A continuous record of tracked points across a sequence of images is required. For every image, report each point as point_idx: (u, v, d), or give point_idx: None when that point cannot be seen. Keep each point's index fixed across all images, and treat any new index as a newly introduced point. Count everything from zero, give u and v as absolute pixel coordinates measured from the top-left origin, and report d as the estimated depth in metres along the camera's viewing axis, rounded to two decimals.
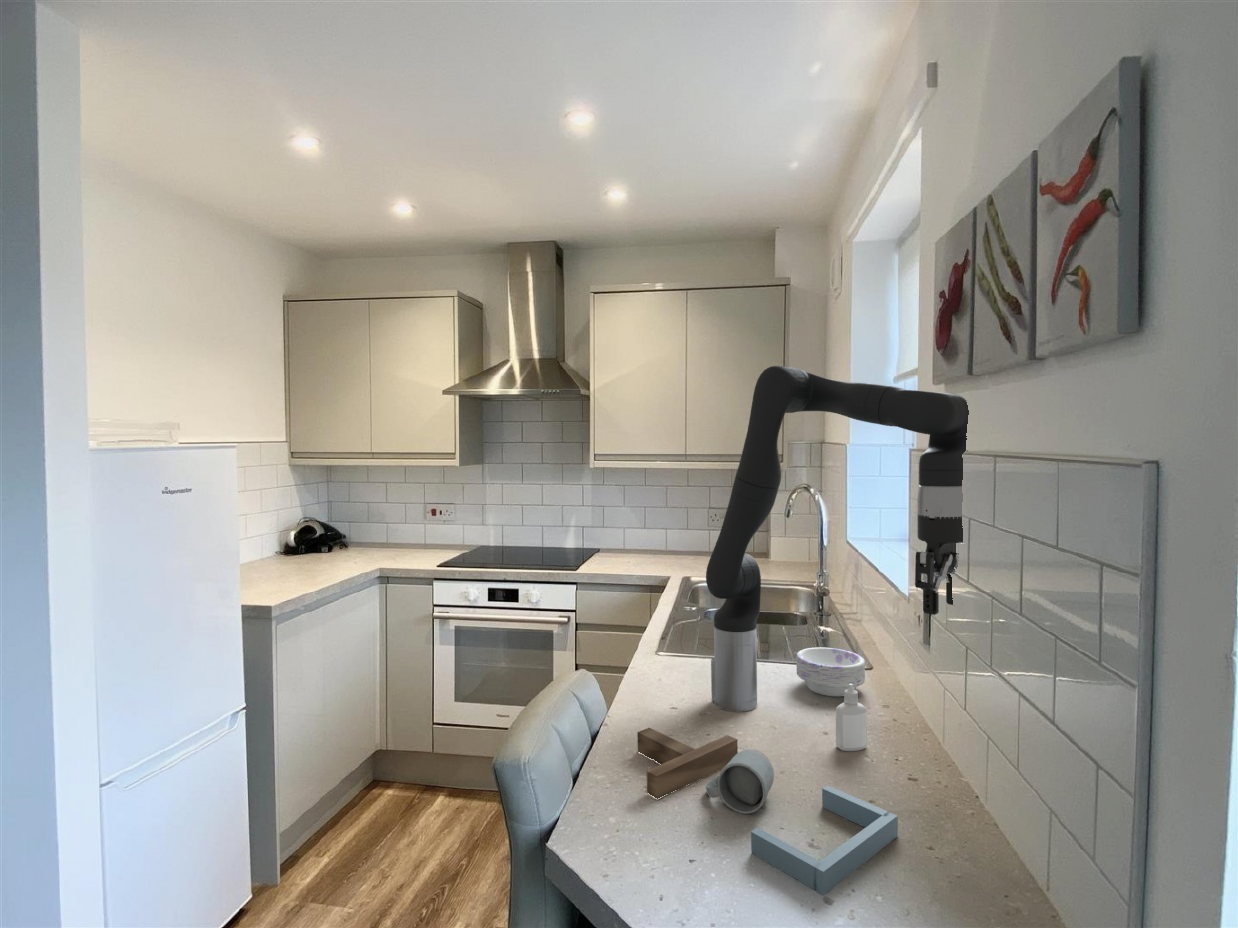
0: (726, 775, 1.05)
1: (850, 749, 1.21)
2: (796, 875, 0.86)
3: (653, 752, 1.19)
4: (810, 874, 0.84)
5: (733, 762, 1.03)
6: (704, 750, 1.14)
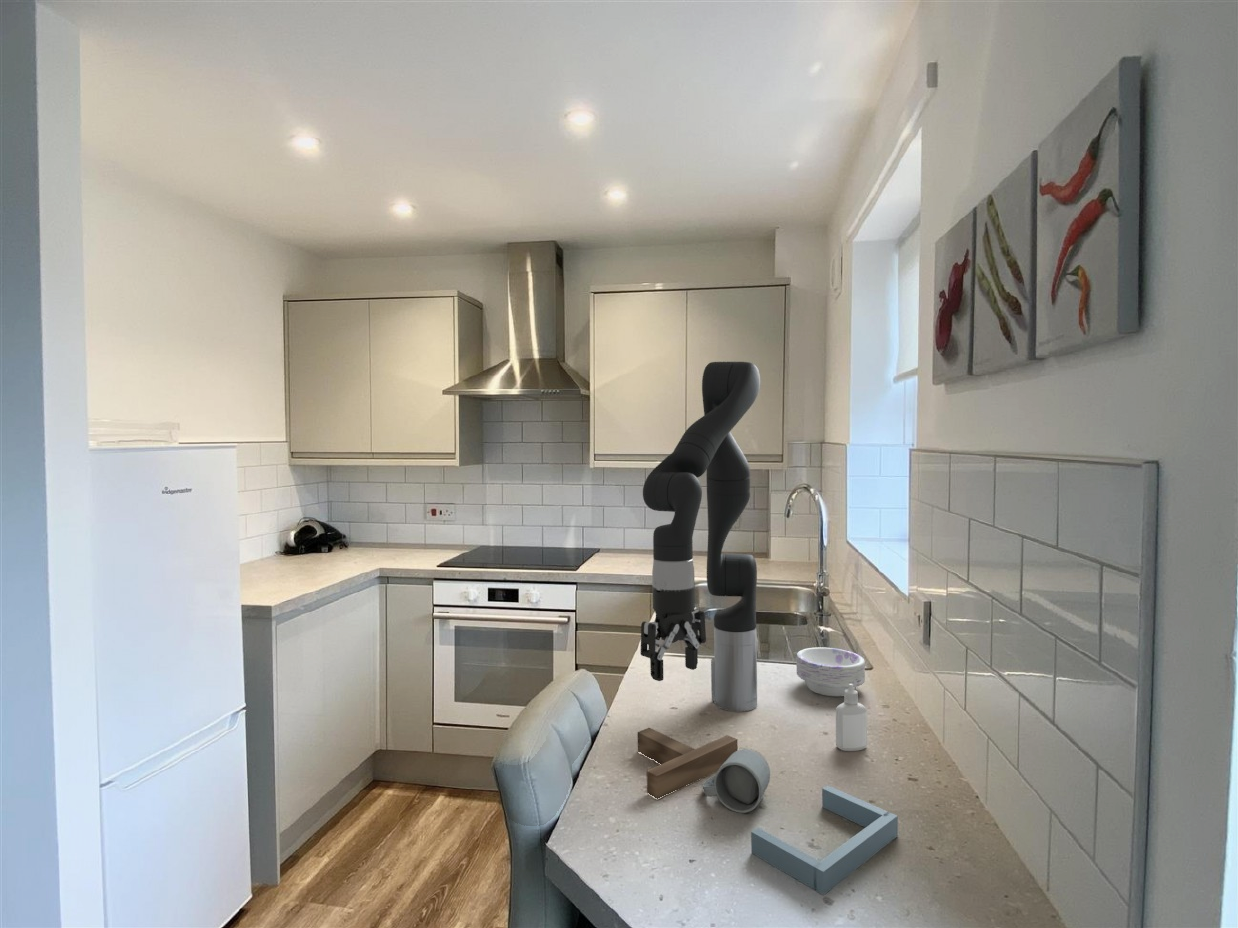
0: (722, 774, 1.06)
1: (850, 749, 1.21)
2: (796, 875, 0.86)
3: (653, 752, 1.19)
4: (810, 874, 0.84)
5: (729, 761, 1.03)
6: (704, 750, 1.14)
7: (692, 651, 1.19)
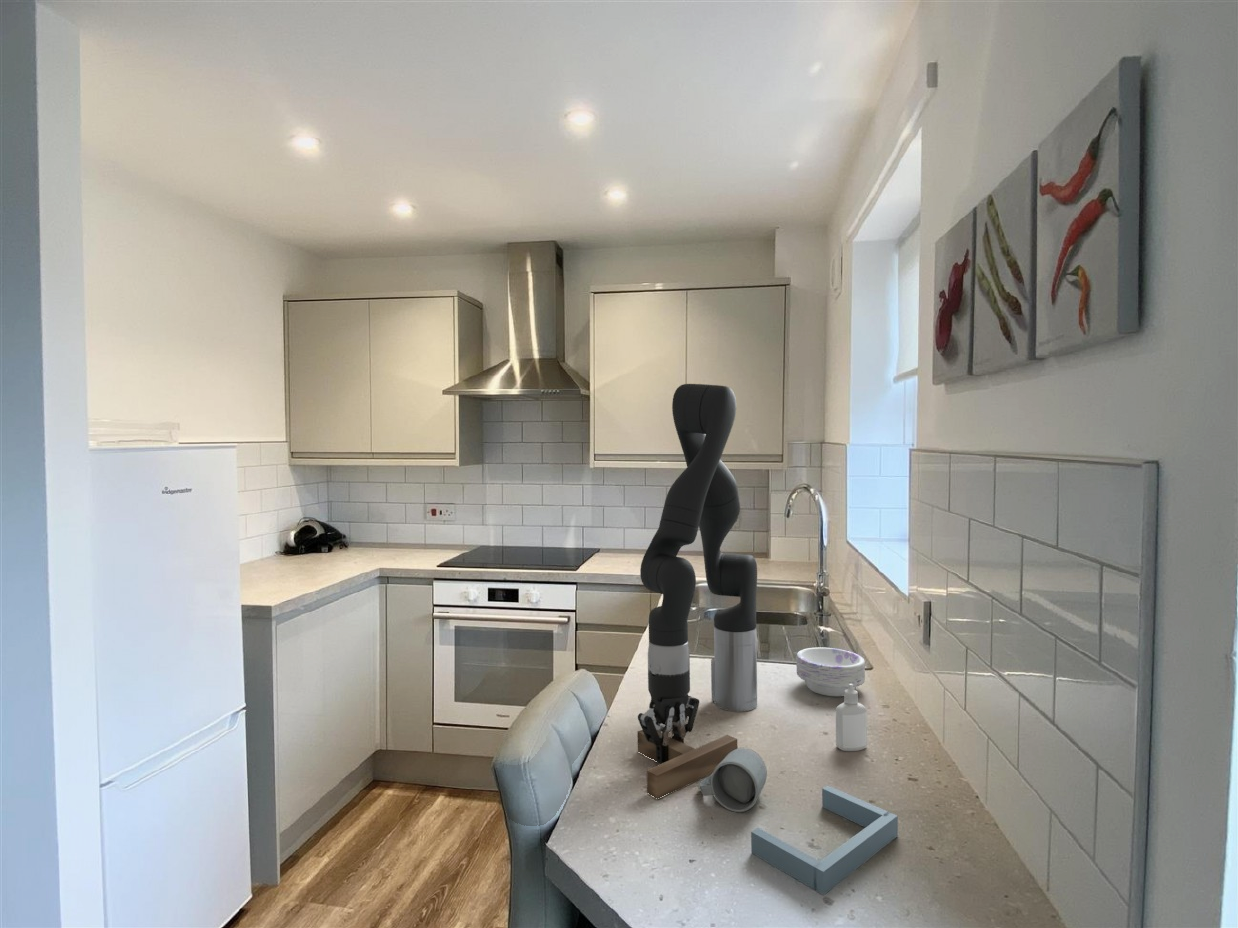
0: (719, 774, 1.06)
1: (850, 749, 1.21)
2: (796, 875, 0.86)
3: (653, 751, 1.19)
4: (810, 874, 0.84)
5: (726, 761, 1.03)
6: (704, 750, 1.14)
7: None
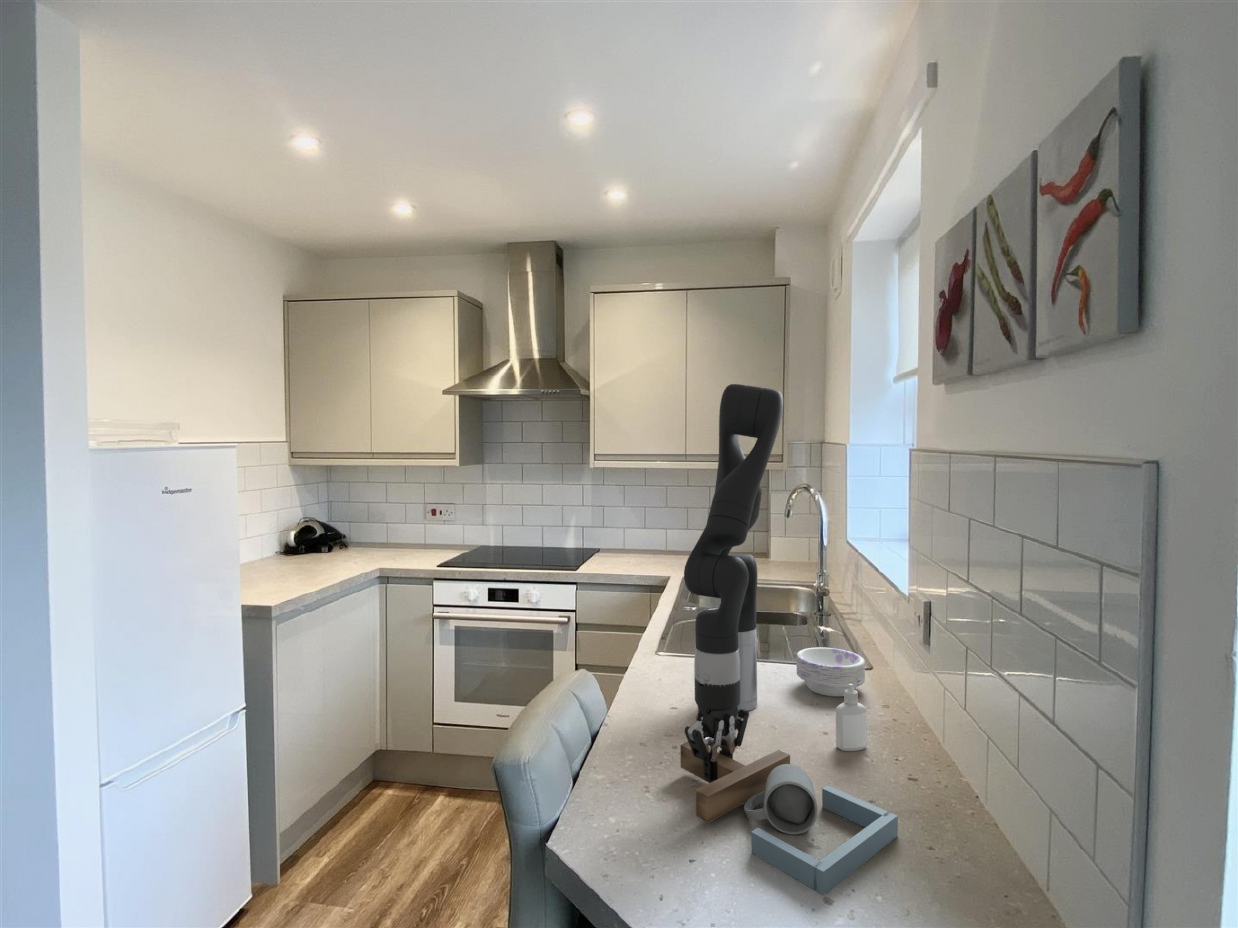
0: (768, 795, 0.99)
1: (850, 749, 1.21)
2: (796, 875, 0.86)
3: (699, 767, 1.10)
4: (810, 874, 0.84)
5: (780, 781, 0.97)
6: (756, 767, 1.05)
7: (727, 756, 1.09)
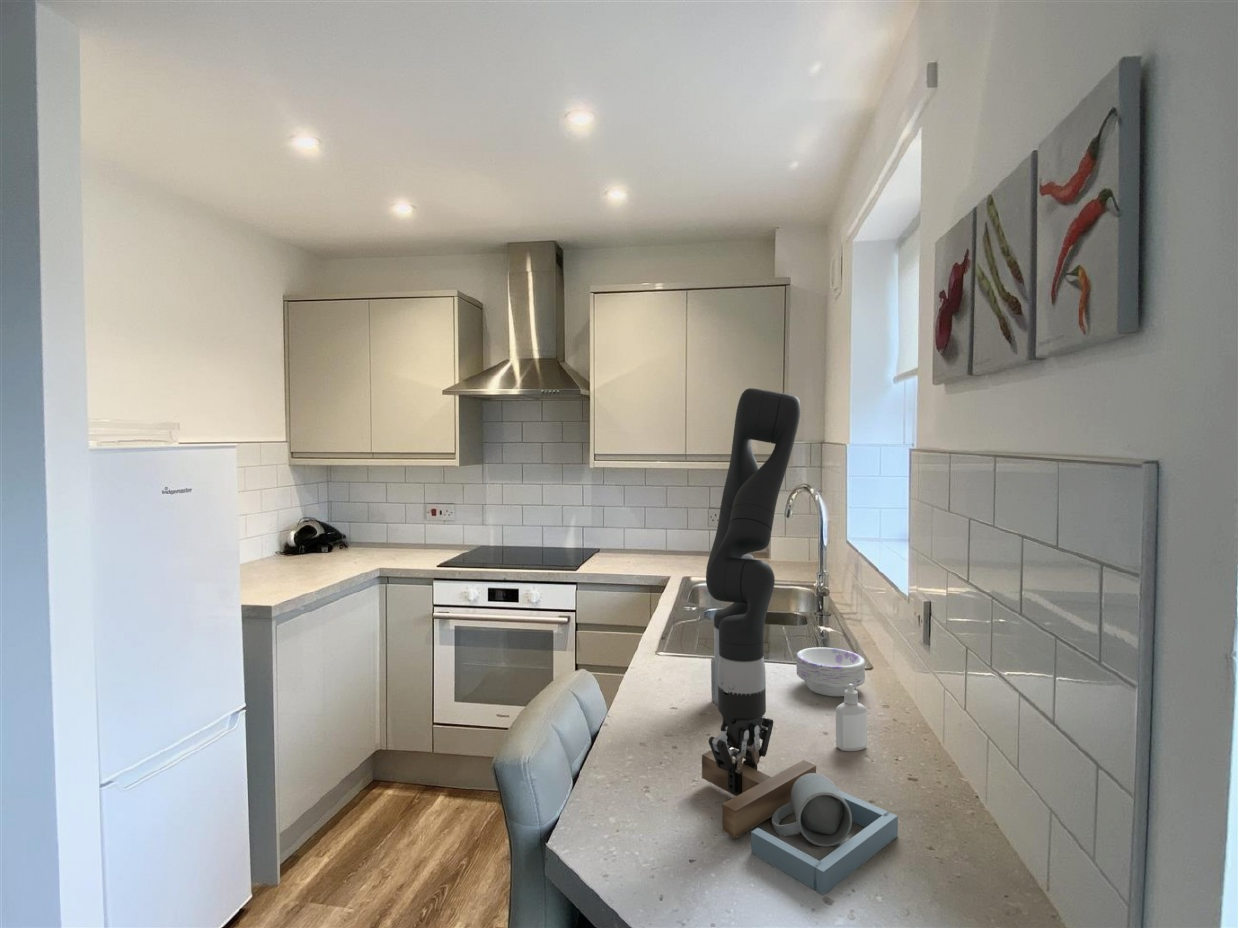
0: None
1: (850, 749, 1.21)
2: (796, 875, 0.86)
3: (722, 778, 1.06)
4: (810, 874, 0.84)
5: (813, 792, 0.94)
6: (782, 779, 1.02)
7: (751, 767, 1.05)
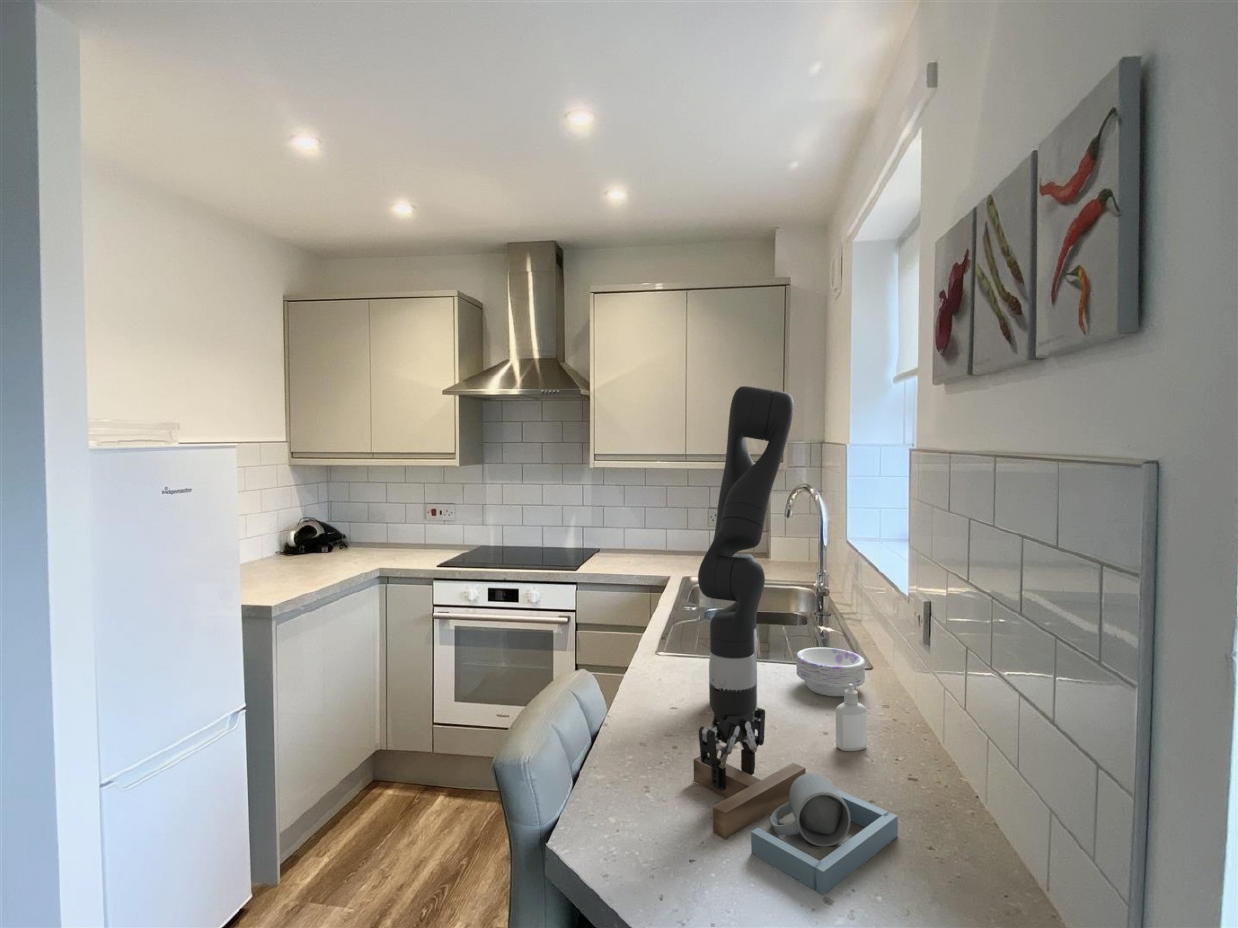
0: None
1: (850, 749, 1.21)
2: (796, 875, 0.86)
3: None
4: (810, 874, 0.84)
5: (812, 792, 0.94)
6: (772, 781, 1.03)
7: (749, 755, 1.08)
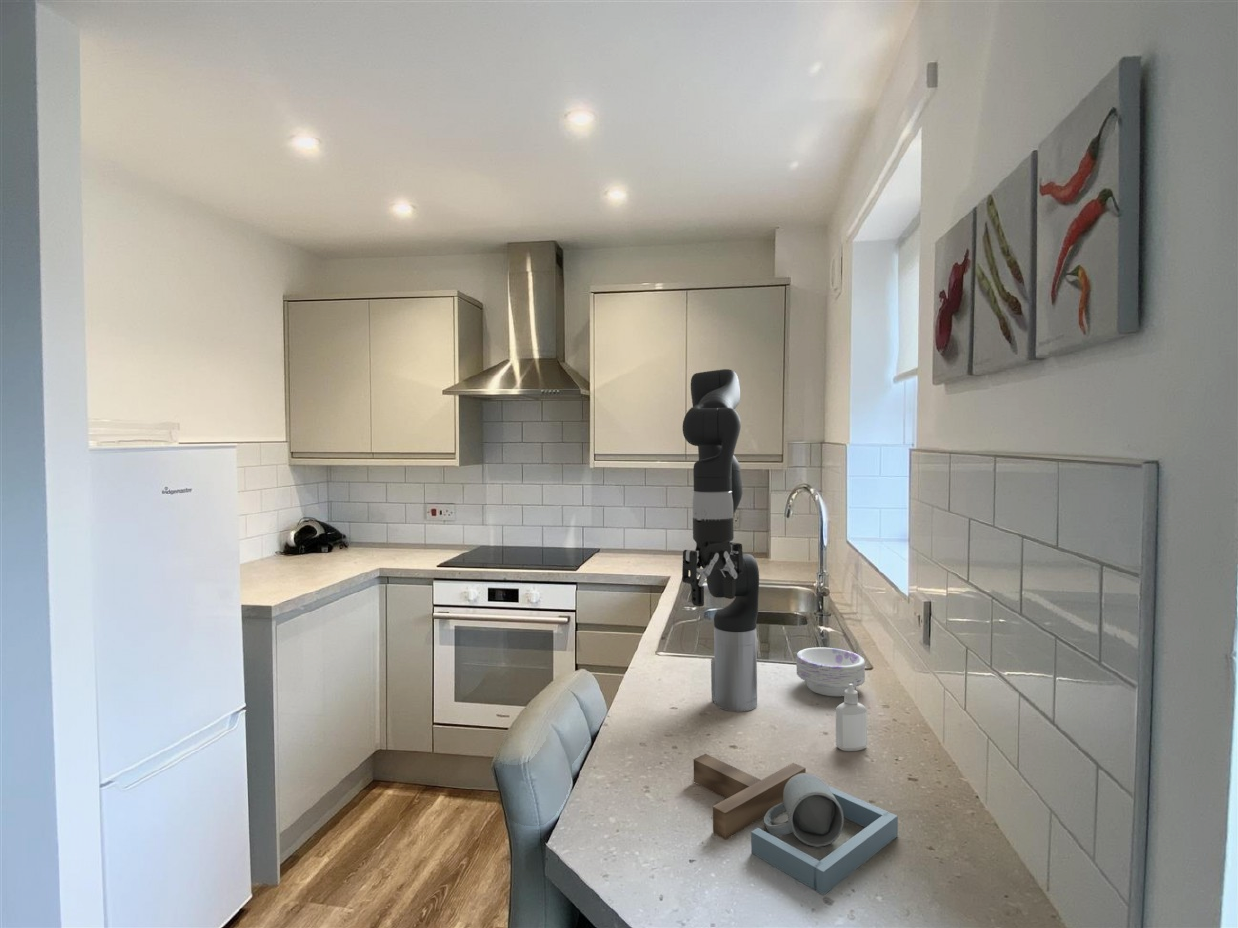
0: None
1: (850, 749, 1.21)
2: (796, 875, 0.86)
3: (713, 782, 1.08)
4: (810, 874, 0.84)
5: (805, 792, 0.94)
6: (772, 781, 1.03)
7: (730, 581, 1.24)
